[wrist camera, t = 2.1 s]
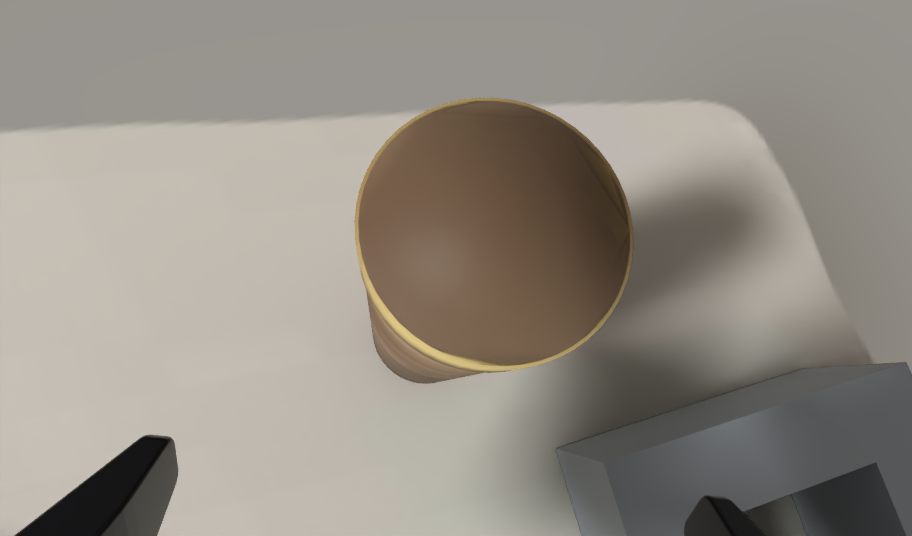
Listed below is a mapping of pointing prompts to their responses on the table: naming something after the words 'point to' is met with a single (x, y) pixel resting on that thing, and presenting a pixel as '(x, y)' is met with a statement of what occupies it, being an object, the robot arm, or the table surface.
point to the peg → (489, 240)
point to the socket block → (759, 456)
